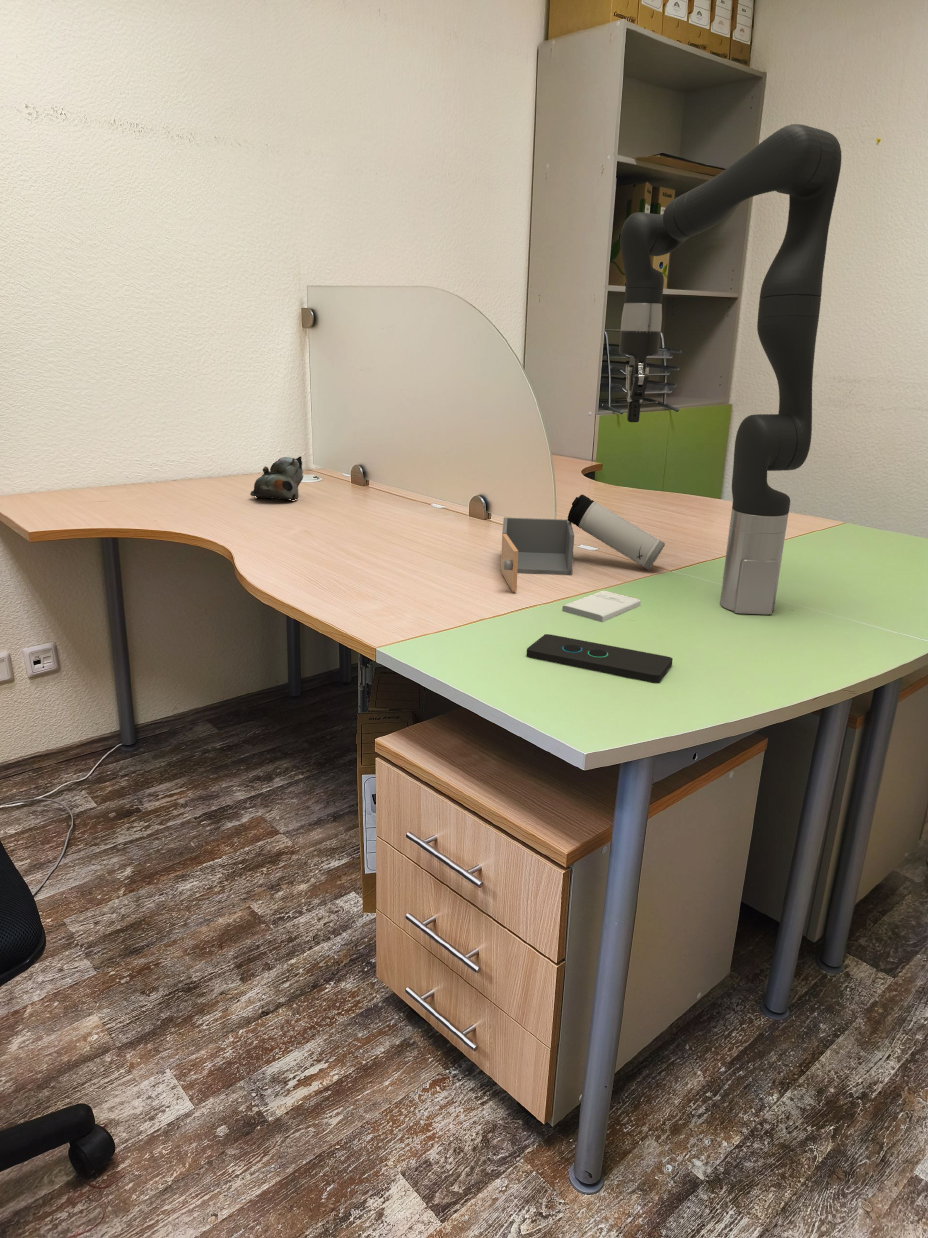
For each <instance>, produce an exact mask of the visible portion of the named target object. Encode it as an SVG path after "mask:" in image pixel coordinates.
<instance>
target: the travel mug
mask: <svg viewBox="0 0 928 1238" xmlns="http://www.w3.org/2000/svg"><path fill="white" fill-rule="evenodd" d="M572 501H573V502H571V505H572V506H571V508H570V510H569V512H568V514H567V515H568V516H567V520H568V521H569V522H571V524H572V525H575V526H576V527H578V528H579V529H581V530H582V531H584V532H586V533H587V534H588V535H590V536H592V537H594V539H596V540H598V541H601V542H602V543H603V544H604V545H607V546H609V547H610V548H611V549H614V550H615V551H617V552H619V553H620V554H621V555H623V556H625V557H626V558H628V559H630V560H632V561H633V562H635V563H636V564H639V565H640V566H642V567H643V568H644V569H646V570H650V569H651V568H652V566H653V565H654V563H655V562H656V561H657V559H658V557H659V556H660V555H661V553H662V551H663V549H664V548H665V546H666V543H665V542H664V541H662V540H660V539H659V538H658V537H656V536H654V535H653V534H651V533H648V532H647V531H645V530H644V529H642V528H640V527H639V526H637V525H635V524H634V523H632V522H630V521H629V520H627V519H625V518H624V517H622V516H621V515H619V514H617V513H615V512H614V511H612V510H610V509H608V507H606V506H604V505H602V504H601V503H597V501H596V500H593V499H591V498H589V497H588V496H586V495H585V494H580V495H579V496H576V497H575V498H574V499H573V500H572Z"/></svg>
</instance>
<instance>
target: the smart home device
mask: <svg viewBox="0 0 928 1238" xmlns="http://www.w3.org/2000/svg"><path fill="white" fill-rule="evenodd" d="M525 655H526V657H527V658H530V659H534V660H540V661H544V662H549V663H554V664H558V665H559V664H560V665H565V666H567V667H568V666H569V667H574V668H577V669H582V670H588V671H593V672H598V673H603V674H606V675H607V674H608V675H613V676H617V677H623V678H627V679H632V680H638V681H642V682H648V683H654V684H659V683H660V682H661V681H662V680H663V678H664V677H665V676H666V674H667V673H668V672H669V671H670V669H671V668H672V667H673V659H674V658H673V657H670V656H668V655H667V656H666V655H661V654H657V653H651V652H646V651H641V650H636V649H635V650H634V649H629V648H624V647H621V646H620V647H619V646H616V645H615V646H614V645H609V644H602V643H597V642H592V641H589V640H583V639H576V638H570V637H566V636H561V635H555V634H548V633H547V634H546V633H545V634H544V635H542V636H541V637H540V638H538V639H537V640H536V641H534V642H533V643H532V644H531V645H530V646H529V647H526V654H525Z"/></svg>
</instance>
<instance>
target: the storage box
mask: <svg viewBox="0 0 928 1238" xmlns="http://www.w3.org/2000/svg"><path fill="white" fill-rule="evenodd" d="M502 522H503V523H502V531H501V535H502V534H507V535H508V537H509V538H510V540H511V541H512V543H513V544H514V546H515V547H516V548H517V550H518V570H517V574H537V575H540V574H541V575H561V576H562V575H565V576H566V575H567V576H569V575H570V576H572V574H573V563H574V562H573V560H574V546H575V533H574V528H573V524H572V523H571V522H569V521H568V519H563V518H559V519H557V518H556V519H554V518H532V517H531V518H530V517H528V518H527V517H503V521H502Z"/></svg>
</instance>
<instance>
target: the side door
mask: <svg viewBox="0 0 928 1238" xmlns="http://www.w3.org/2000/svg"><path fill="white" fill-rule="evenodd" d="M500 557H501V559H500V561H501V562H500V573H501V574H502V576H503V577H504V579H505V581H506V583H507V585H508V587H509V588H510V590H511V592H517V588H518V573H517V570H518V550H517V548H516V547H515V546H514V544H513V543H512V541H511V540H510V538H509V537H508V535H507V534H502V533H501V555H500Z"/></svg>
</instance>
